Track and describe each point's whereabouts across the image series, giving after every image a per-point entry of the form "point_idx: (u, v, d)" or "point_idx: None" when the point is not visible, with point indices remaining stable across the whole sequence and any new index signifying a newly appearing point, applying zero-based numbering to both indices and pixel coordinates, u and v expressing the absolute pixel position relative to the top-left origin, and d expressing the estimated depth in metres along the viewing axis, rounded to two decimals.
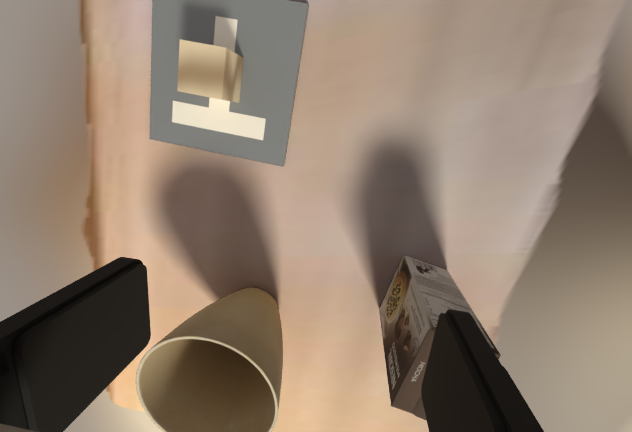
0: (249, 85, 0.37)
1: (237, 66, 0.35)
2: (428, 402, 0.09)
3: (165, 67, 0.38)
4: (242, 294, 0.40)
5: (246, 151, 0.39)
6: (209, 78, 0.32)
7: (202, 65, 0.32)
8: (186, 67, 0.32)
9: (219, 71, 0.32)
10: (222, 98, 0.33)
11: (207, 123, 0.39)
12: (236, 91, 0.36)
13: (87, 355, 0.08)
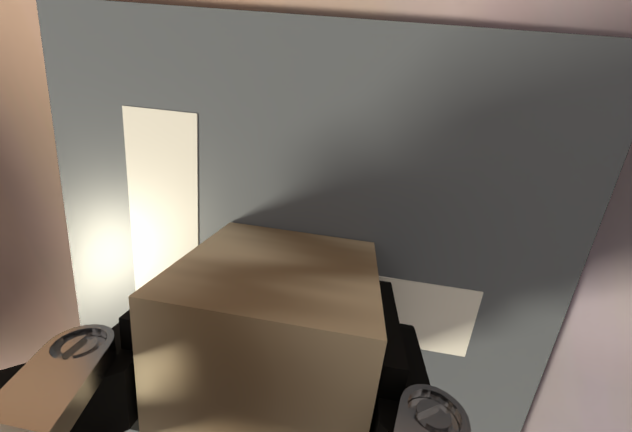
0: None
1: None
2: None
3: (311, 85, 0.09)
4: None
5: None
6: None
7: (266, 427, 0.06)
8: (249, 356, 0.06)
9: None
10: None
11: (148, 241, 0.11)
12: None
13: None
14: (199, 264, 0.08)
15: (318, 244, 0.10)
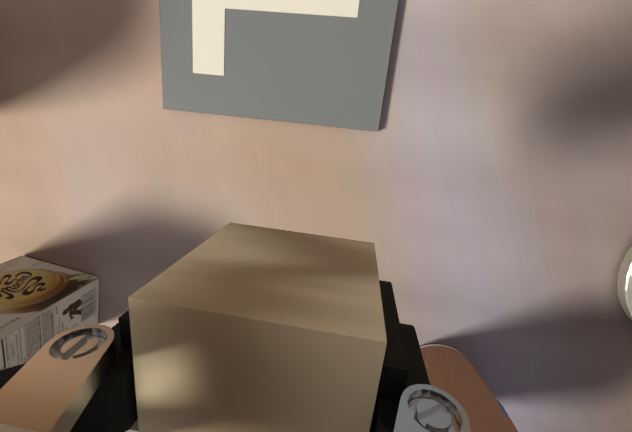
0: (266, 44, 0.24)
1: None
2: None
3: None
4: None
5: (172, 45, 0.25)
6: None
7: (266, 427, 0.06)
8: (248, 357, 0.06)
9: None
10: None
11: None
12: None
13: None
14: (199, 265, 0.08)
15: (318, 245, 0.10)
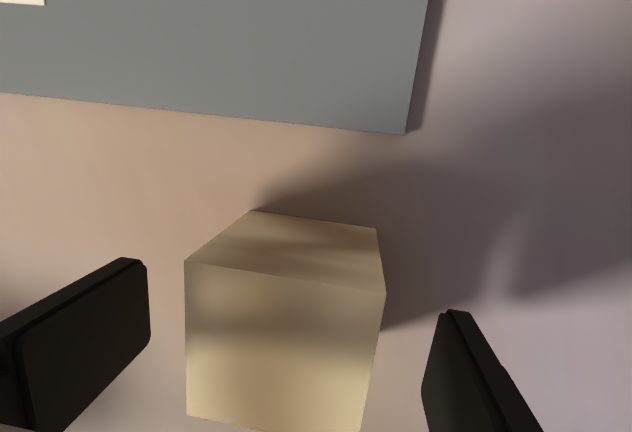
0: None
1: None
2: (428, 402, 0.09)
3: None
4: None
5: None
6: (247, 386, 0.09)
7: (290, 366, 0.08)
8: (278, 308, 0.08)
9: (275, 421, 0.09)
10: None
11: None
12: None
13: (87, 355, 0.08)
14: (233, 240, 0.09)
15: (328, 228, 0.11)
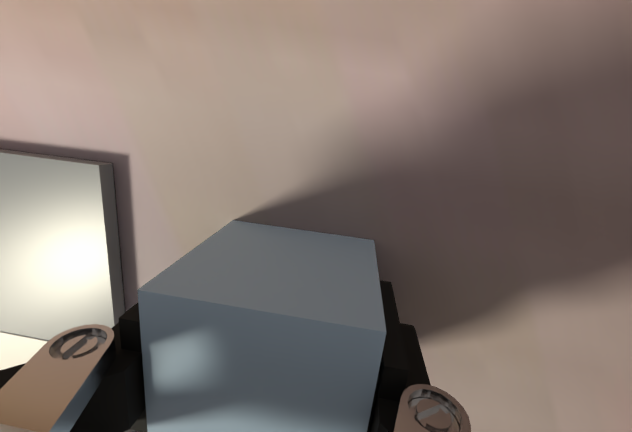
0: None
1: None
2: None
3: None
4: None
5: None
6: None
7: None
8: None
9: None
10: None
11: None
12: None
13: None
14: None
15: None
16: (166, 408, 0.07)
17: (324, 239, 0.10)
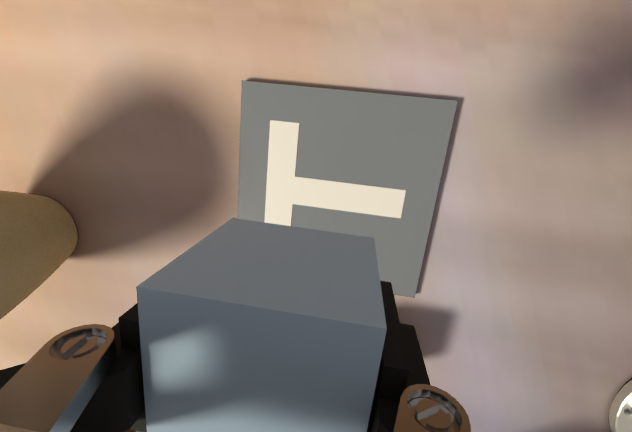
0: None
1: None
2: None
3: (342, 113, 0.26)
4: (48, 242, 0.29)
5: None
6: None
7: None
8: None
9: None
10: None
11: (274, 174, 0.28)
12: None
13: None
14: None
15: None
16: (165, 406, 0.07)
17: (324, 237, 0.10)
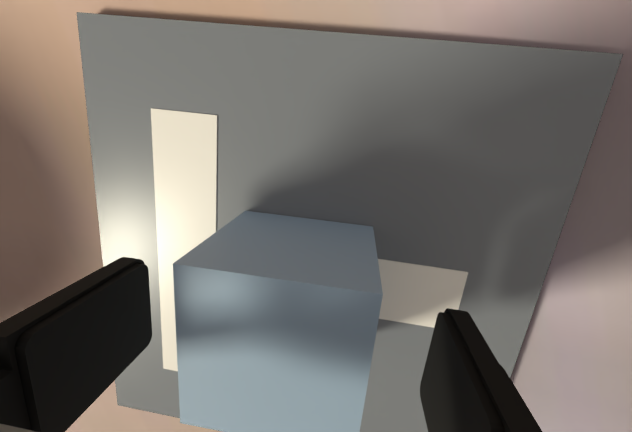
0: None
1: None
2: (426, 401, 0.09)
3: (318, 91, 0.11)
4: None
5: None
6: None
7: None
8: None
9: None
10: None
11: (171, 228, 0.13)
12: None
13: (89, 354, 0.08)
14: None
15: None
16: (195, 368, 0.08)
17: (328, 225, 0.11)
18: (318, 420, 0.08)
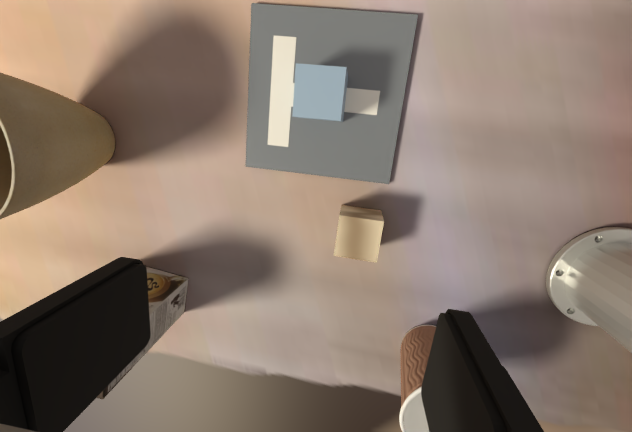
0: (317, 128, 0.37)
1: None
2: (428, 402, 0.09)
3: (329, 28, 0.34)
4: (97, 137, 0.36)
5: (255, 127, 0.38)
6: (350, 246, 0.36)
7: (361, 240, 0.35)
8: (360, 225, 0.35)
9: (357, 255, 0.36)
10: None
11: (276, 81, 0.36)
12: None
13: (87, 355, 0.08)
14: (345, 212, 0.36)
15: (367, 210, 0.38)
16: (298, 95, 0.31)
17: None
18: (331, 109, 0.31)
